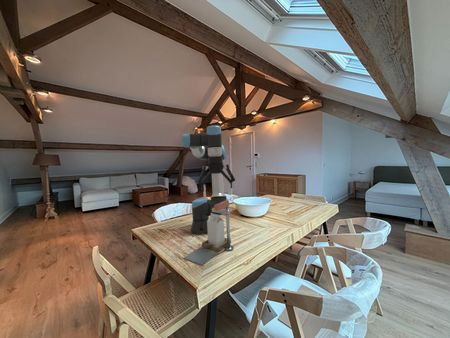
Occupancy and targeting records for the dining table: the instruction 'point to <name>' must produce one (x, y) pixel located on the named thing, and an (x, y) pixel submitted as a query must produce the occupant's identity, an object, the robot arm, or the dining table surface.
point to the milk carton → (215, 230)
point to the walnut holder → (215, 248)
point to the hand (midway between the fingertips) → (217, 196)
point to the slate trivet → (200, 256)
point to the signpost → (219, 209)
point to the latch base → (229, 248)
